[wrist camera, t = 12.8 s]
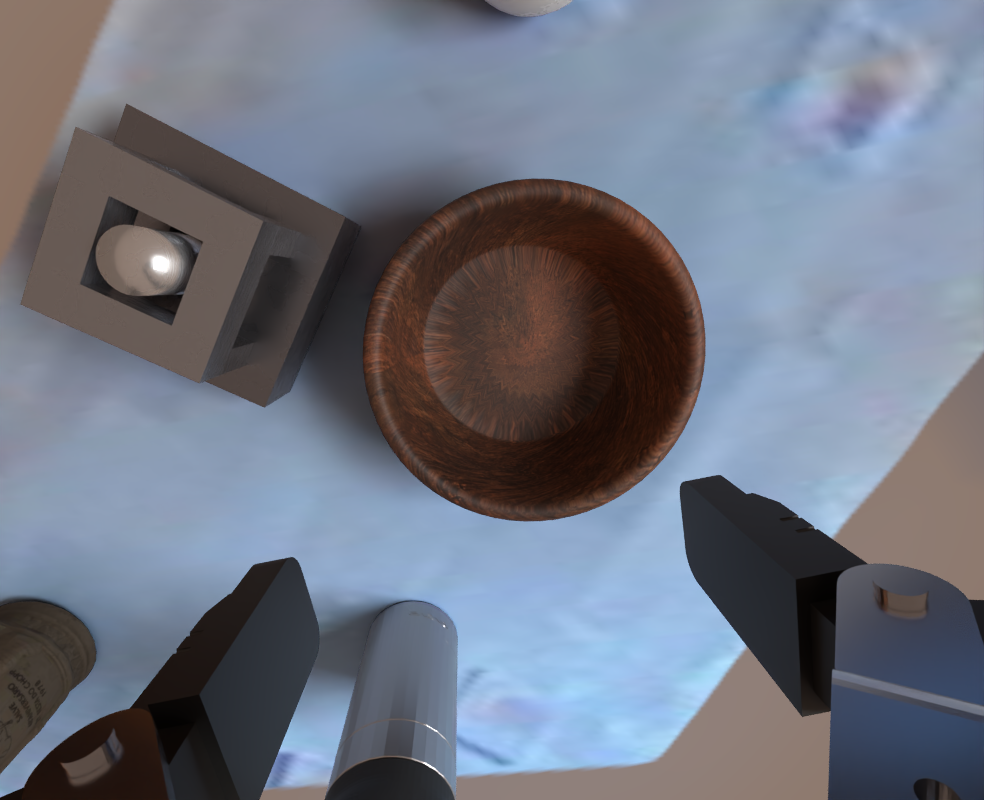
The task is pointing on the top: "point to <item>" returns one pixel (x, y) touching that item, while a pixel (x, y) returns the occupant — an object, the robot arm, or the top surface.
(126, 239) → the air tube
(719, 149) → the top surface
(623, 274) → the wooden bowl
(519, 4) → the lidded bowl
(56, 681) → the beer stein
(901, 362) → the top surface
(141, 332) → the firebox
